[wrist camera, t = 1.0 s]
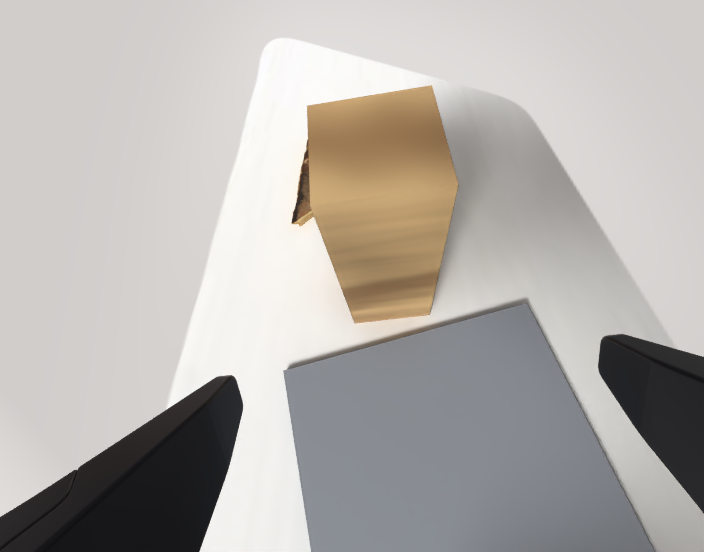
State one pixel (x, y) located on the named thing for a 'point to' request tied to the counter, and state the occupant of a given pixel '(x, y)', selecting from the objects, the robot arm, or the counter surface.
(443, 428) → the slate mat
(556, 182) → the counter surface
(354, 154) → the wood block
